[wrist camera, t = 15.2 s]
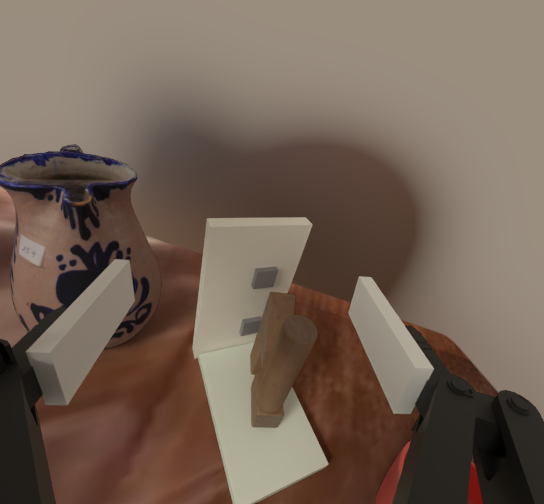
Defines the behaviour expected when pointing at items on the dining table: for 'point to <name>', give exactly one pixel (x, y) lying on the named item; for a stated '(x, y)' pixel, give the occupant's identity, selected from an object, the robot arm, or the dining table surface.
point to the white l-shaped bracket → (249, 352)
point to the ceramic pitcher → (75, 234)
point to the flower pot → (392, 478)
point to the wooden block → (278, 357)
